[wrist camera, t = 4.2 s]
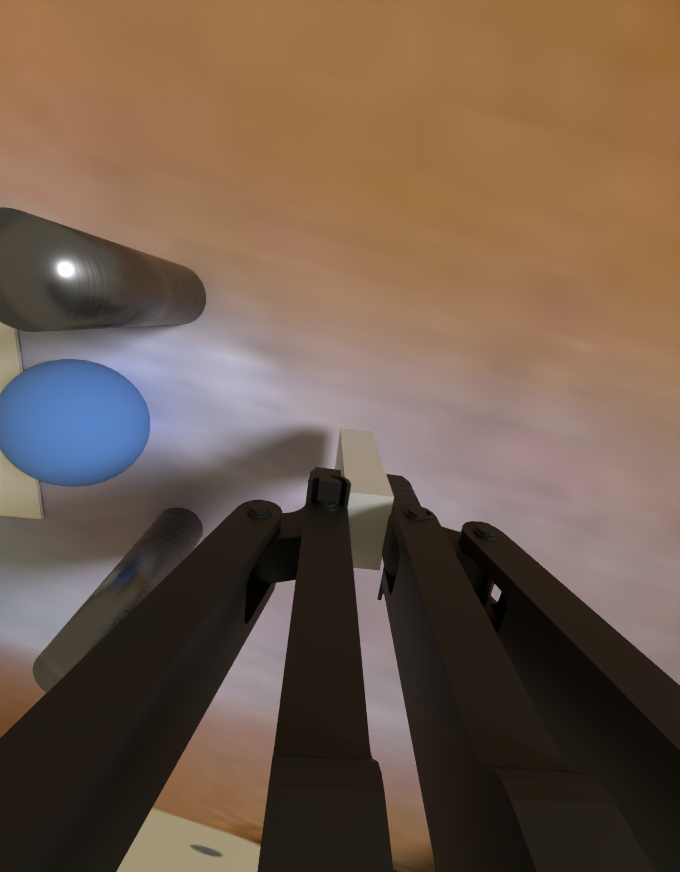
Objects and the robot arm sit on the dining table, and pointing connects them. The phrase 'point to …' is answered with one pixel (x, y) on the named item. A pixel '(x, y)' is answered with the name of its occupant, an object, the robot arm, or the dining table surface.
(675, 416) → the dining table surface
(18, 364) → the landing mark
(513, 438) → the dining table surface
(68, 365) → the ball
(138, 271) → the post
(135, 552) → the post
